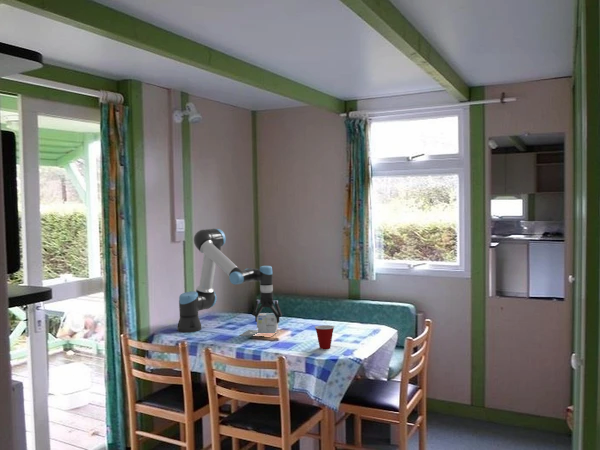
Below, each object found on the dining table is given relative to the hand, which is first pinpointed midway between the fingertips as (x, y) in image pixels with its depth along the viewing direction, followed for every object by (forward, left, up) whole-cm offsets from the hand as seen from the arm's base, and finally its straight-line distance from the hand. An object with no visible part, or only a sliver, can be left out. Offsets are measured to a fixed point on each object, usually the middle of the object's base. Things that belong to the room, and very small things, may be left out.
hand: (267, 327), depth 314 cm
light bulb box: (0, 0, -3) cm, 3 cm away
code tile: (-6, +1, -4) cm, 7 cm away
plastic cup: (+41, -19, -4) cm, 45 cm away
